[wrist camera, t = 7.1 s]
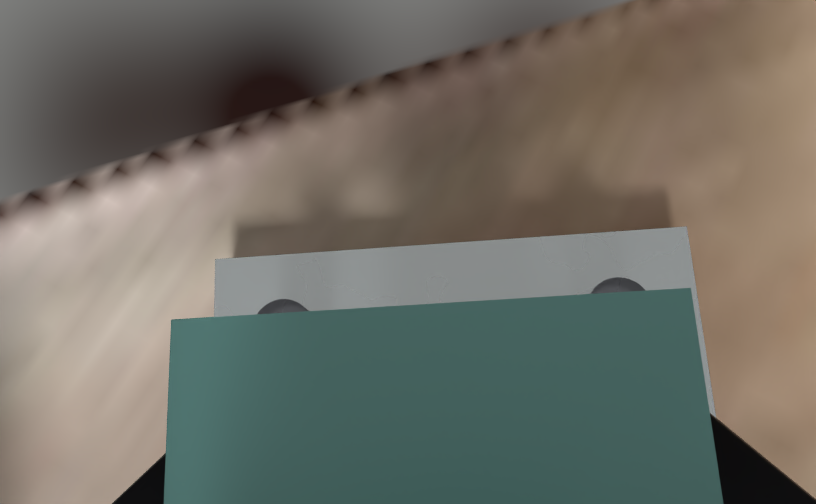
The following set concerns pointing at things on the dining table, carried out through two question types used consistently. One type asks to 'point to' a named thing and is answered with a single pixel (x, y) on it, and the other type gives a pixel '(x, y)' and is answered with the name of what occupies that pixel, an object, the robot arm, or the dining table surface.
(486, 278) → the plate
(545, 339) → the module box
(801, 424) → the dining table surface
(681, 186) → the dining table surface
